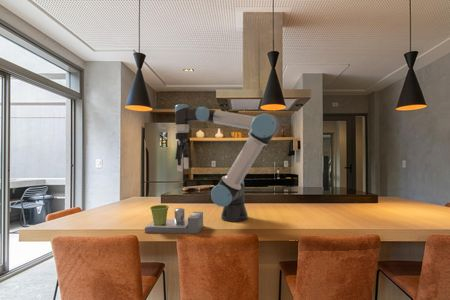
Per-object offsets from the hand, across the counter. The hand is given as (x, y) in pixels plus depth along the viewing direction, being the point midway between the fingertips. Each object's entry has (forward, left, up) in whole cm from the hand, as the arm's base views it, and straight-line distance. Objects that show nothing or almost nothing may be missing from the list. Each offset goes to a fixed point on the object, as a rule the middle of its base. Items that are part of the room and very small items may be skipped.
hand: (183, 170), depth 176 cm
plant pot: (+8, +19, -26) cm, 33 cm away
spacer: (-2, +17, -25) cm, 30 cm away
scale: (+1, +17, -29) cm, 33 cm away
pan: (+3, +17, -26) cm, 31 cm away
